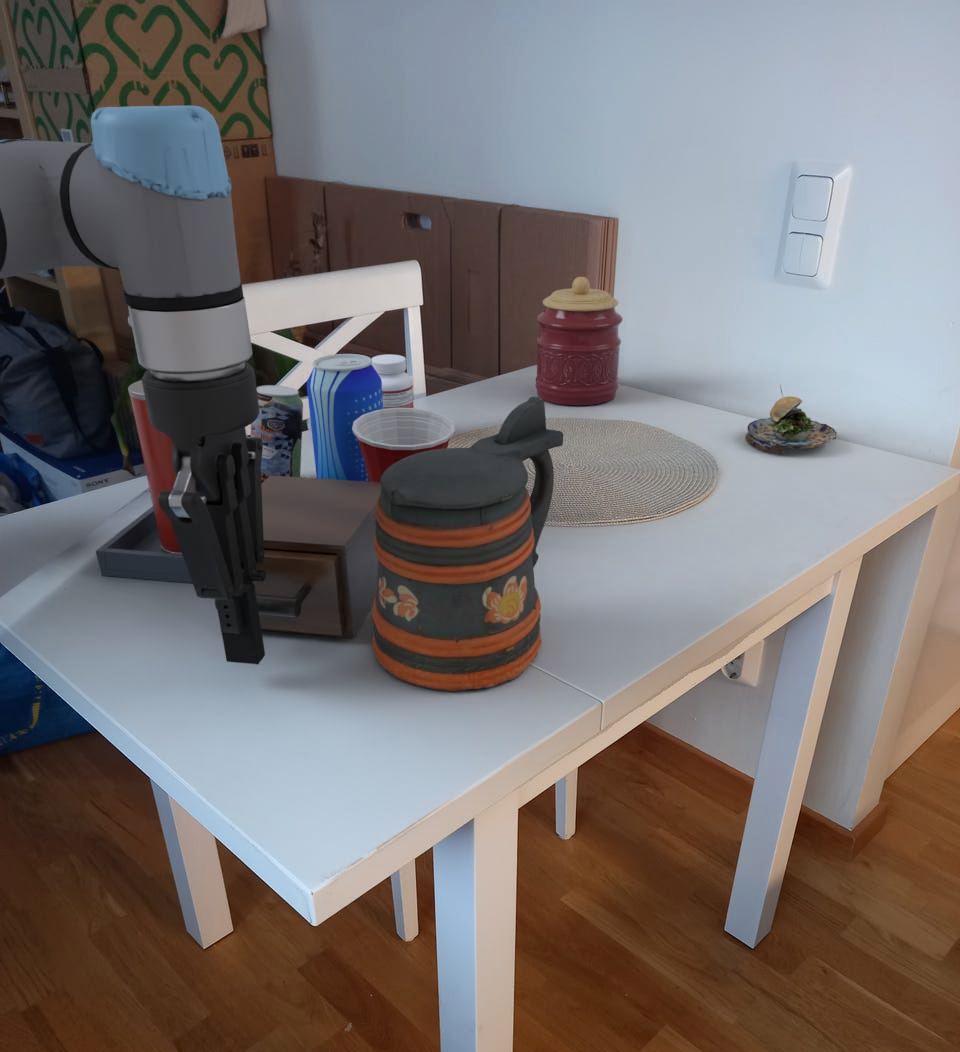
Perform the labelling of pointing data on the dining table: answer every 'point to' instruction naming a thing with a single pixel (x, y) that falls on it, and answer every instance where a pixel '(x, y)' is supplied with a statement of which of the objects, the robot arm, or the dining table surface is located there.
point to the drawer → (300, 592)
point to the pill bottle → (394, 381)
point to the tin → (155, 465)
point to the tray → (141, 554)
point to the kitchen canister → (578, 346)
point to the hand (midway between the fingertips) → (246, 658)
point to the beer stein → (463, 557)
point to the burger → (788, 429)
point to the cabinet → (328, 533)
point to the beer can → (341, 413)
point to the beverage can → (279, 430)
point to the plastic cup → (399, 436)
